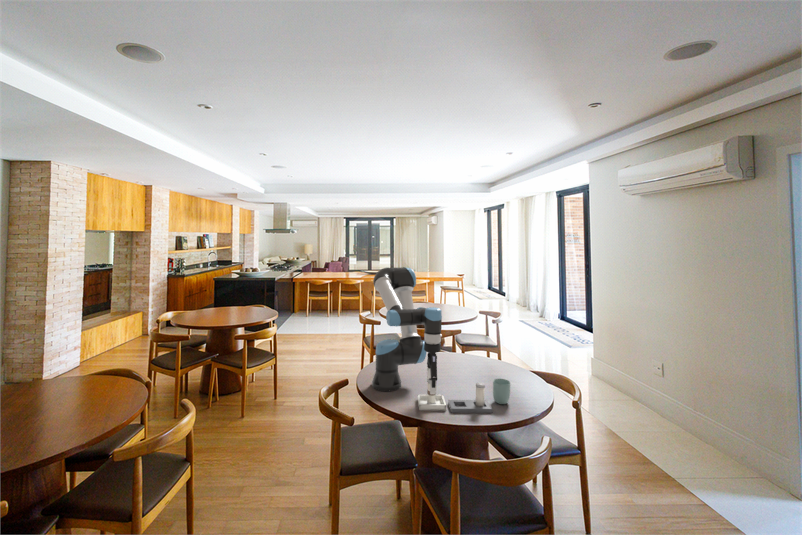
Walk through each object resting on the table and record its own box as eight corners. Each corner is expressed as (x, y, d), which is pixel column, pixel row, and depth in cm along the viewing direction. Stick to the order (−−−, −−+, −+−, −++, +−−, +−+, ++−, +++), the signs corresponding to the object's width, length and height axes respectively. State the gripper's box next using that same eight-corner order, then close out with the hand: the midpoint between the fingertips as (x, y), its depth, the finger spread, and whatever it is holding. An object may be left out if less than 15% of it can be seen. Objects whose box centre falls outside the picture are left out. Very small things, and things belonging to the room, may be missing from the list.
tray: (419, 410, 154) (419, 405, 154) (417, 399, 165) (417, 394, 165) (446, 410, 155) (446, 405, 154) (442, 399, 166) (442, 394, 165)
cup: (489, 403, 163) (490, 381, 162) (496, 397, 169) (497, 377, 168) (506, 407, 158) (506, 386, 158) (512, 402, 164) (512, 381, 164)
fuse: (476, 410, 155) (476, 385, 155) (474, 406, 159) (474, 382, 159) (485, 410, 155) (485, 385, 155) (483, 406, 159) (483, 382, 159)
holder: (451, 412, 153) (451, 408, 152) (448, 403, 162) (448, 399, 161) (492, 412, 153) (492, 408, 153) (487, 403, 162) (487, 400, 162)
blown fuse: (427, 405, 158) (427, 381, 157) (426, 401, 162) (427, 378, 161) (436, 405, 158) (436, 381, 157) (435, 401, 162) (435, 378, 161)
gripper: (444, 350, 146) (443, 399, 147) (437, 335, 171) (436, 377, 172) (426, 350, 146) (425, 399, 147) (422, 334, 171) (421, 377, 172)
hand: (431, 387), depth 160 cm, fingers open, 13 cm apart
